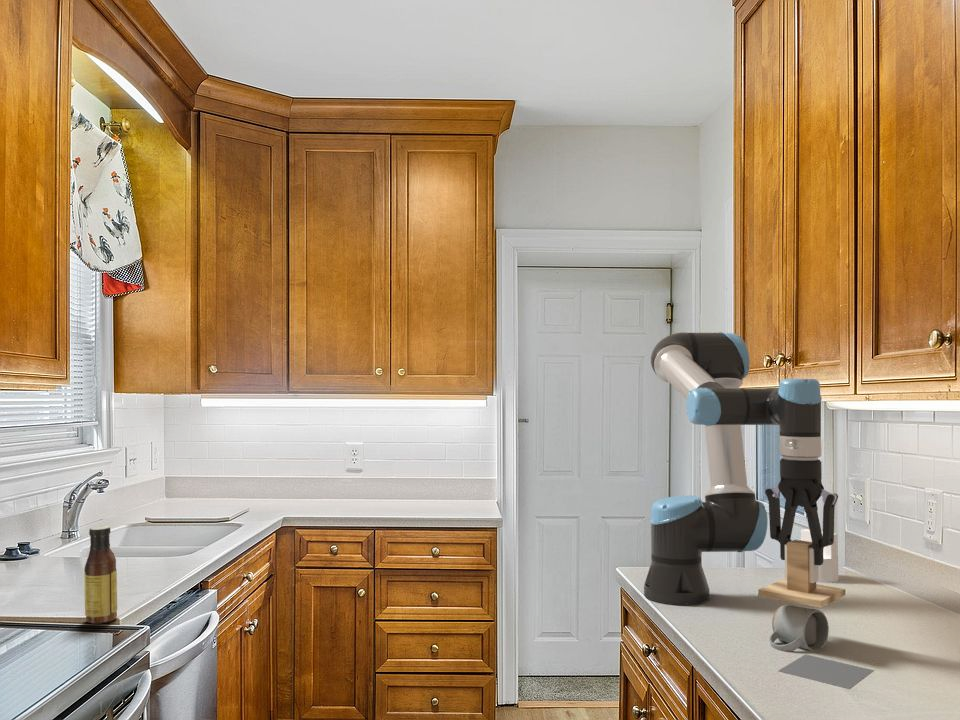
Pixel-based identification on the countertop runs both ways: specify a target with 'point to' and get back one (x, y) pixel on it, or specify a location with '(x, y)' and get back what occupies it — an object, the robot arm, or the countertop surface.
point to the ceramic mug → (799, 628)
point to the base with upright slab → (826, 559)
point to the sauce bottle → (100, 578)
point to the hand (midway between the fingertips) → (801, 579)
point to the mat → (826, 671)
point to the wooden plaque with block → (800, 581)
